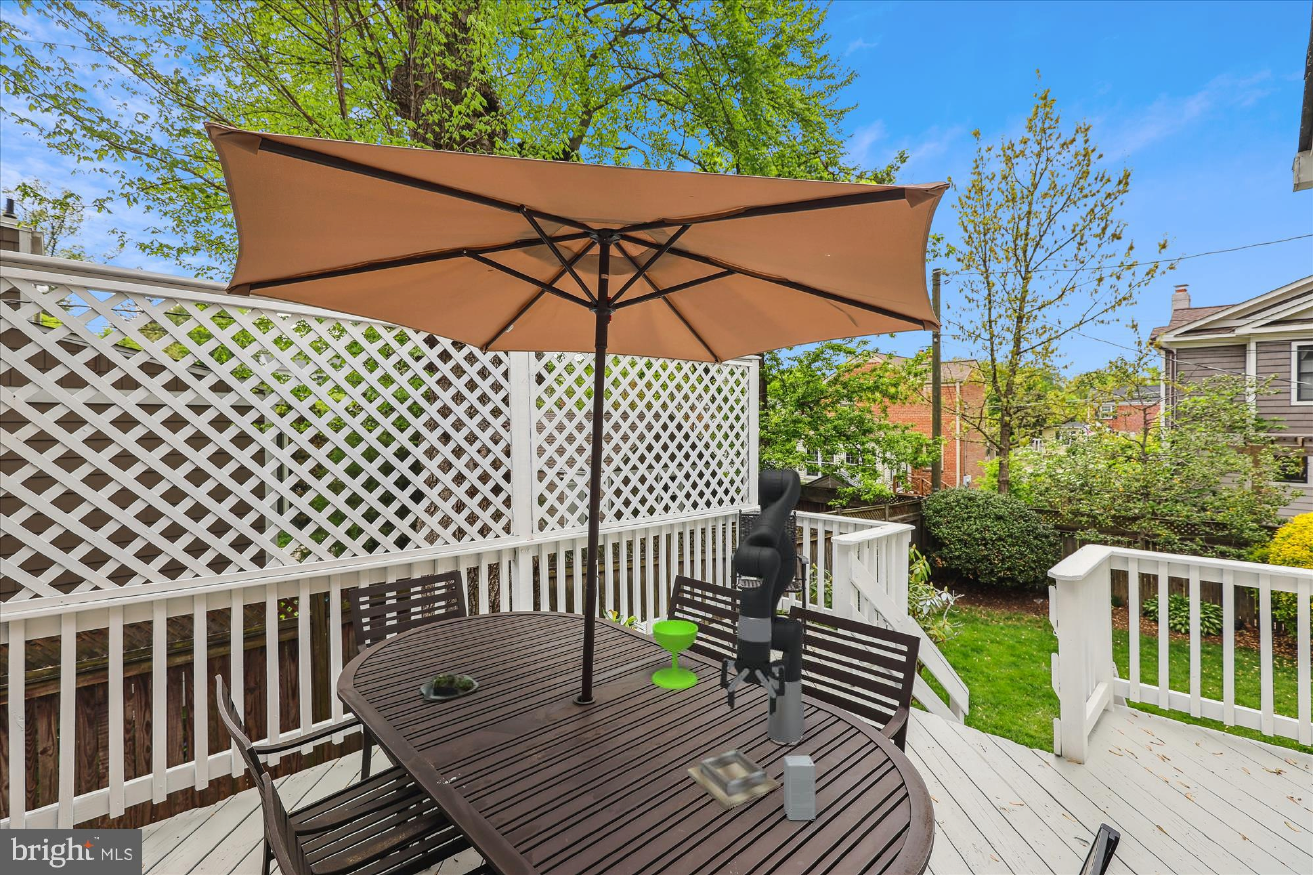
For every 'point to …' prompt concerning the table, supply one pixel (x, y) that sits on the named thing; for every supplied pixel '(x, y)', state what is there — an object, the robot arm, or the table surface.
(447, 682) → the salad plate
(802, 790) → the skincare box
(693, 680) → the wineglass
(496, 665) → the table surface
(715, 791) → the socket board
